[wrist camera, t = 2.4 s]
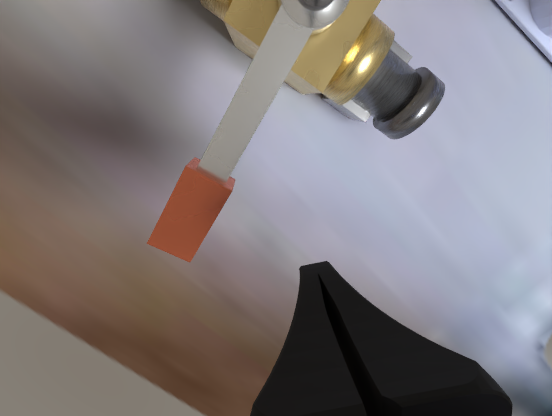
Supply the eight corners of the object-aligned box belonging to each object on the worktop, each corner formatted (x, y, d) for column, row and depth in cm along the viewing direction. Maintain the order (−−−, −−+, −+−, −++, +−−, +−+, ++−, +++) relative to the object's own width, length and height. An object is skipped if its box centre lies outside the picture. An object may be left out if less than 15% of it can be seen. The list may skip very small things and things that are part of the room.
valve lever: (300, -64, 9) (310, -102, 8) (355, -15, 10) (375, -39, 8) (156, 225, 14) (140, 244, 12) (200, 245, 14) (192, 267, 12)
